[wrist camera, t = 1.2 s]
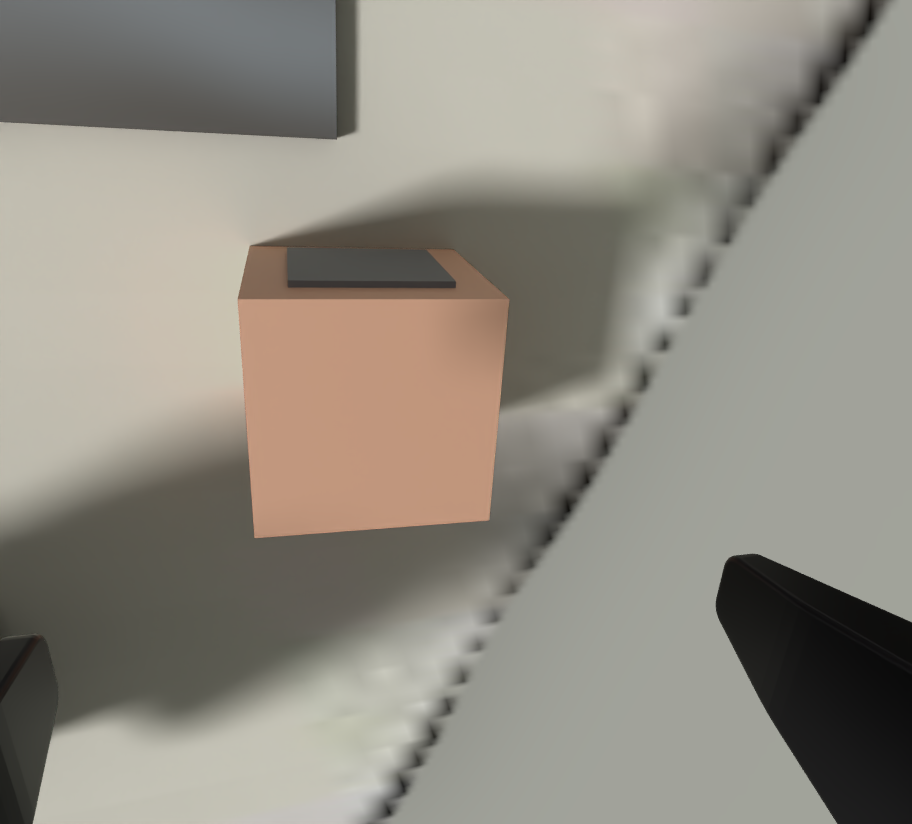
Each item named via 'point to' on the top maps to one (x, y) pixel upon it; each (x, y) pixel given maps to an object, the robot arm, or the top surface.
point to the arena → (171, 65)
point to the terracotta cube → (369, 387)
